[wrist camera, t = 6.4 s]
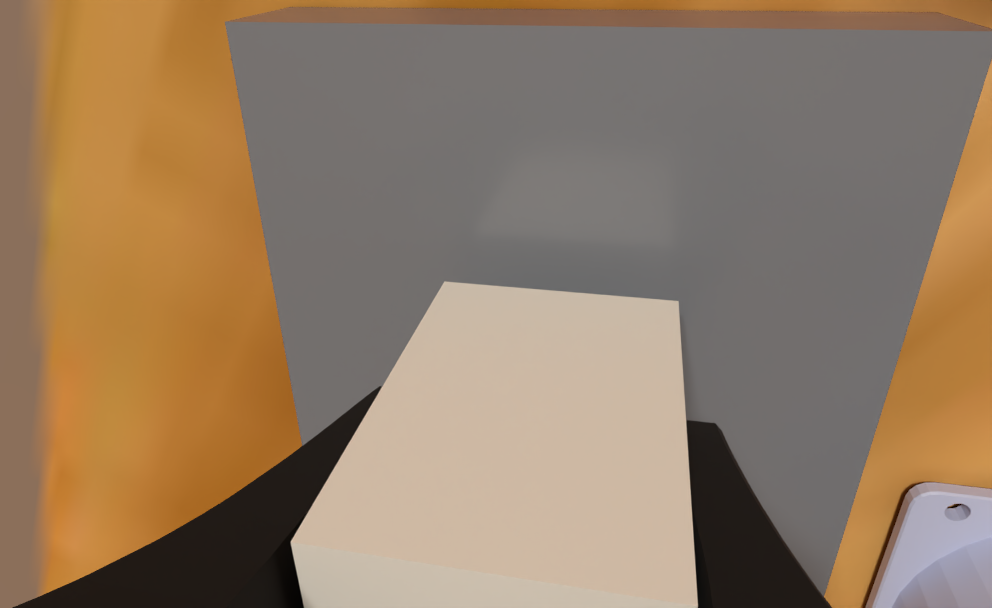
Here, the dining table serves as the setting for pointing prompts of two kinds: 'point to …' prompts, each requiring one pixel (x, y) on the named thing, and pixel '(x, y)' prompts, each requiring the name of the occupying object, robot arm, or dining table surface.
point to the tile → (621, 200)
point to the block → (515, 463)
